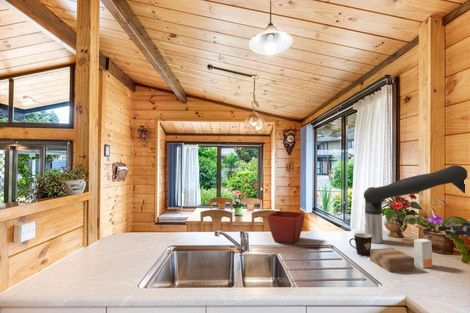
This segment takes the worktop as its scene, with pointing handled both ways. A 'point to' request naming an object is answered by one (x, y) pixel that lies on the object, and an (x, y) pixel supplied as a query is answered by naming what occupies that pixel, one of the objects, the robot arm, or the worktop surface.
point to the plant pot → (286, 226)
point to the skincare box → (423, 253)
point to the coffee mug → (362, 243)
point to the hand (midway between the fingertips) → (446, 230)
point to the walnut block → (392, 260)
